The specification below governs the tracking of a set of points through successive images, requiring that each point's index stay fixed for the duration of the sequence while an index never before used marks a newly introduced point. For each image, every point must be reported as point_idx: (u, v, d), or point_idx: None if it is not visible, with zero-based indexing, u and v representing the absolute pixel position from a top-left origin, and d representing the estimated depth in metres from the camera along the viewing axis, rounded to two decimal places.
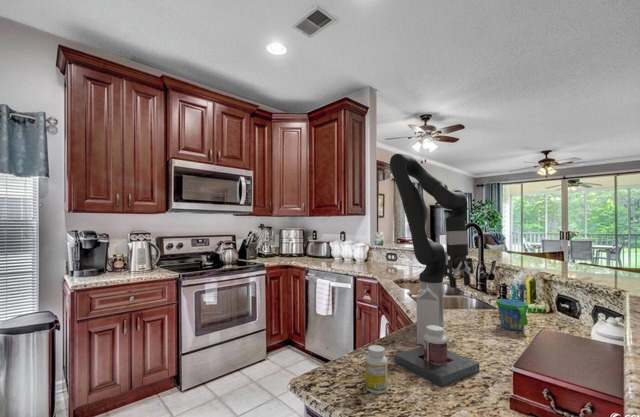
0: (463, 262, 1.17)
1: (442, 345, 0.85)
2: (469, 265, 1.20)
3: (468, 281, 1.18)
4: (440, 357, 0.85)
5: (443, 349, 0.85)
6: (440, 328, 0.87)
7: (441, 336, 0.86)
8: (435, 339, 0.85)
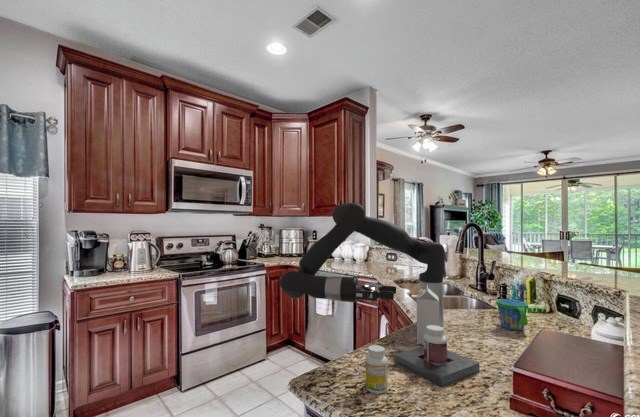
0: None
1: (442, 345, 0.85)
2: None
3: None
4: (440, 357, 0.85)
5: (443, 349, 0.85)
6: (440, 328, 0.87)
7: (441, 336, 0.86)
8: (435, 339, 0.85)
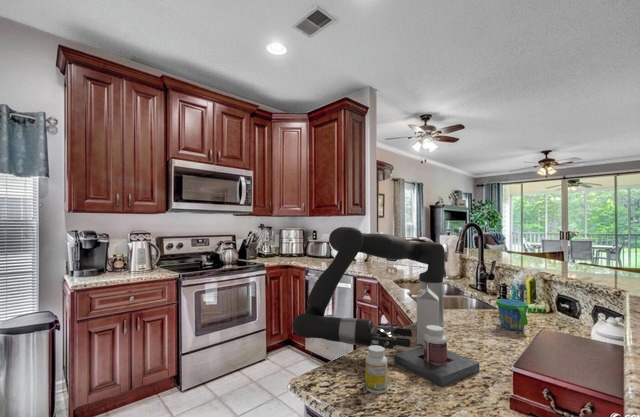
0: None
1: (442, 345, 0.85)
2: None
3: None
4: (440, 357, 0.85)
5: (442, 349, 0.85)
6: (440, 328, 0.87)
7: (441, 336, 0.86)
8: (435, 339, 0.85)
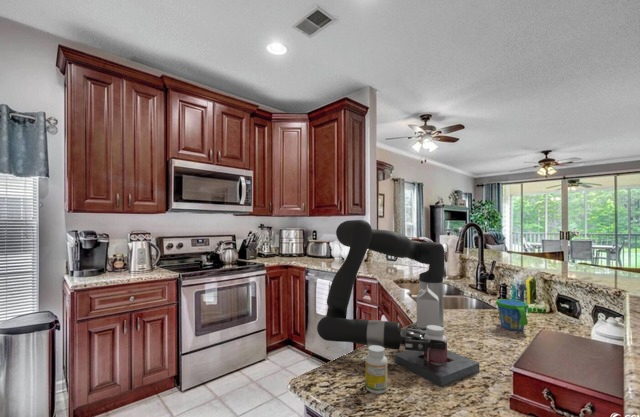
0: None
1: None
2: None
3: None
4: (440, 357, 0.85)
5: None
6: (440, 328, 0.87)
7: (441, 336, 0.86)
8: (435, 339, 0.85)
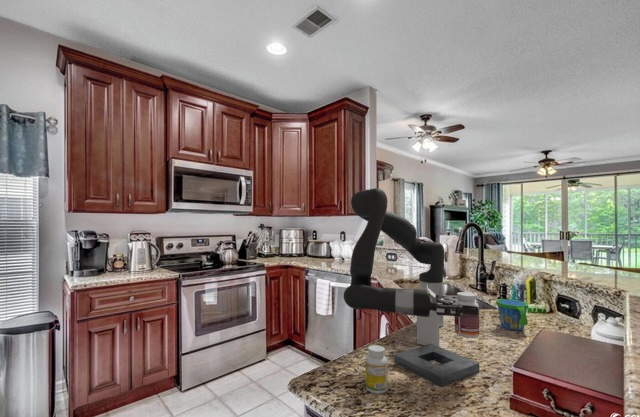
0: None
1: None
2: None
3: None
4: (472, 323, 0.83)
5: None
6: (472, 294, 0.85)
7: (473, 302, 0.84)
8: None
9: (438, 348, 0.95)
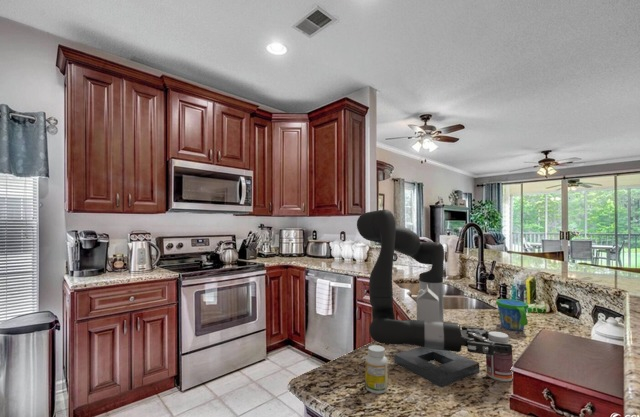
0: None
1: (508, 353, 0.80)
2: None
3: None
4: (506, 366, 0.80)
5: (509, 357, 0.80)
6: (504, 335, 0.82)
7: None
8: None
9: None
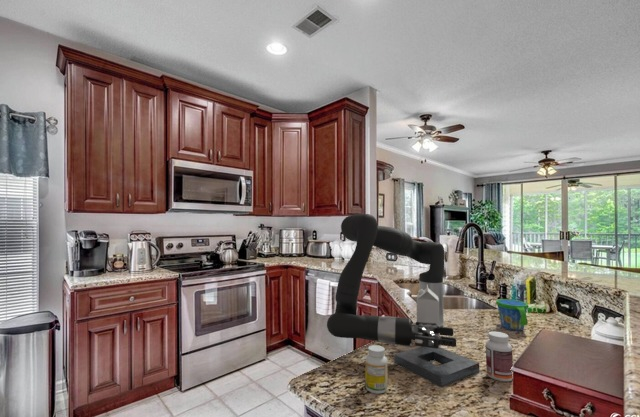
0: None
1: (508, 353, 0.80)
2: None
3: None
4: (506, 366, 0.80)
5: (509, 357, 0.80)
6: (504, 335, 0.82)
7: (506, 343, 0.81)
8: (500, 347, 0.80)
9: (438, 348, 0.95)
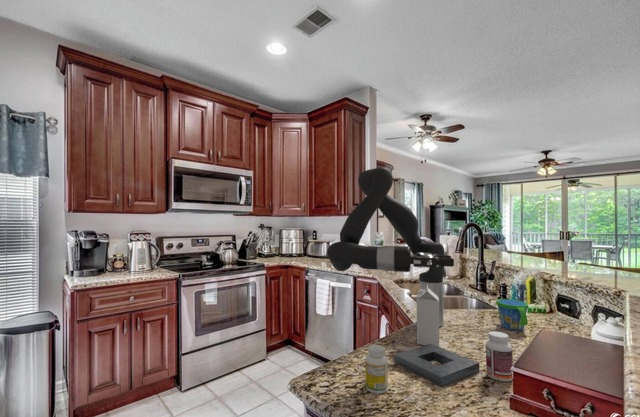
0: None
1: (508, 353, 0.80)
2: None
3: None
4: (506, 366, 0.80)
5: (509, 357, 0.80)
6: (504, 335, 0.82)
7: (506, 343, 0.81)
8: (500, 347, 0.80)
9: (438, 348, 0.95)
